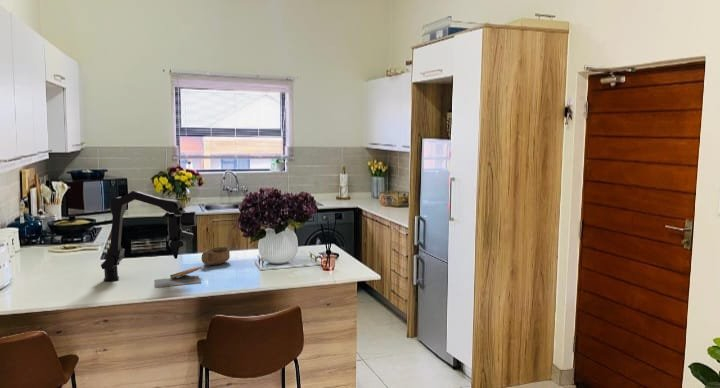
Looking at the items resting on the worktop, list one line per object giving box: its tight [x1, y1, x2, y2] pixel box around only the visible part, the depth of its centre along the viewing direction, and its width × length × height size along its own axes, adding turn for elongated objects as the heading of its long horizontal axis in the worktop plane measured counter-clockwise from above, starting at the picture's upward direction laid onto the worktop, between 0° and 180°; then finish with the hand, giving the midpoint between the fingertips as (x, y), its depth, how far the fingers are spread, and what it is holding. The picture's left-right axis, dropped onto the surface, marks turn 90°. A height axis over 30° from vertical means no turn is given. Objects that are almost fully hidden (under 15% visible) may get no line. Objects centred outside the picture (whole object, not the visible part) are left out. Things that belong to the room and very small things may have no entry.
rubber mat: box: [154, 275, 202, 289], centre depth 259 cm, size 14×20×1 cm
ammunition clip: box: [169, 266, 204, 279], centre depth 265 cm, size 11×2×12 cm
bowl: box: [201, 246, 231, 266], centre depth 293 cm, size 18×14×10 cm
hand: (175, 258), depth 264 cm, fingers closed
